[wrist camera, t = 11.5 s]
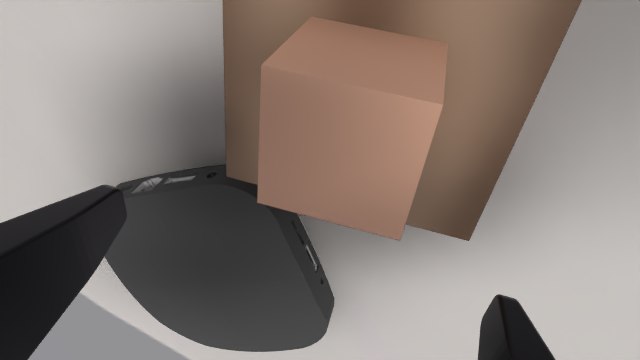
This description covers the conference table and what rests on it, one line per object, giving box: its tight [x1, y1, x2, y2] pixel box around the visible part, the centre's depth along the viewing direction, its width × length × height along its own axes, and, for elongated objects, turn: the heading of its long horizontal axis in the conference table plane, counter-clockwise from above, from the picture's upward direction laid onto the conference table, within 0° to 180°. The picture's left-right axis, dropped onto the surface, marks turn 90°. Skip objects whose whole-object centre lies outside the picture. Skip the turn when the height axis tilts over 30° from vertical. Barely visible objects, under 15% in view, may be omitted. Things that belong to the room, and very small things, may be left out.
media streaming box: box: [105, 165, 334, 352], centre depth 29 cm, size 15×15×3 cm
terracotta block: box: [257, 17, 448, 241], centre depth 15 cm, size 5×5×5 cm
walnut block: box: [223, 0, 582, 241], centre depth 18 cm, size 12×12×3 cm
